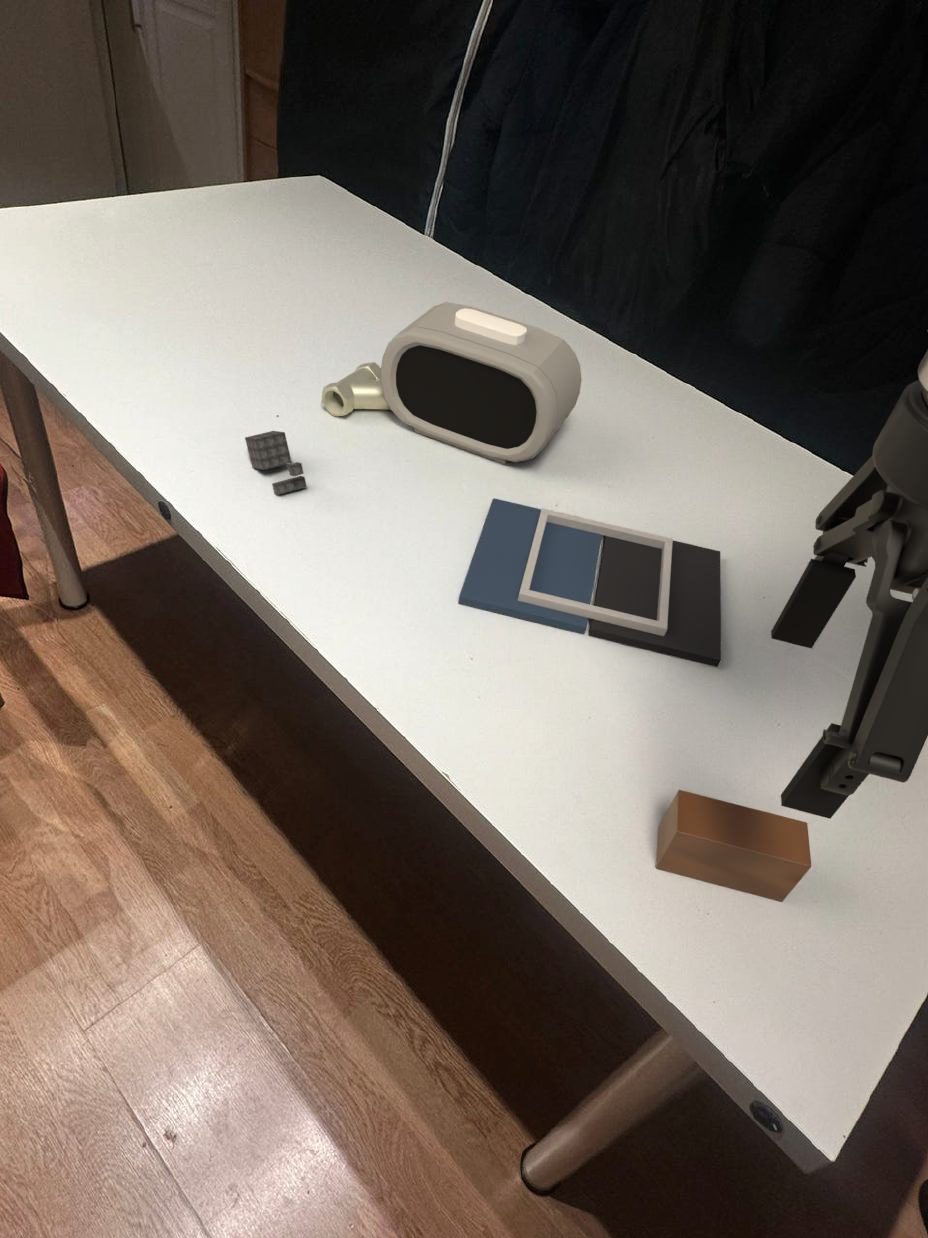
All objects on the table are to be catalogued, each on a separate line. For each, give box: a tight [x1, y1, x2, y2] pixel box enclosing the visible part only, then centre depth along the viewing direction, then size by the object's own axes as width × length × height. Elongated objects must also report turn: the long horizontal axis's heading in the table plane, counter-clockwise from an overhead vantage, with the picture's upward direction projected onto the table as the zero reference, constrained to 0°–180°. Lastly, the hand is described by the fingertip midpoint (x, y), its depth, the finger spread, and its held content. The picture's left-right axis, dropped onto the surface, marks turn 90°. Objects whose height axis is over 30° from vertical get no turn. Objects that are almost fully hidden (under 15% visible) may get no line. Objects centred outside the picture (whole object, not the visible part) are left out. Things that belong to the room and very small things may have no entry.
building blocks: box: [244, 430, 308, 496], centre depth 84 cm, size 3×6×8 cm
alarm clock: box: [380, 301, 582, 465], centre depth 92 cm, size 21×10×13 cm, turn 65°
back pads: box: [458, 497, 722, 668], centre depth 79 cm, size 24×16×2 cm, turn 77°
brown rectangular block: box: [655, 789, 812, 903], centre depth 57 cm, size 9×4×5 cm, turn 77°
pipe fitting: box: [321, 361, 392, 417], centre depth 96 cm, size 8×4×7 cm
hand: (797, 715), depth 50 cm, fingers open, 13 cm apart
